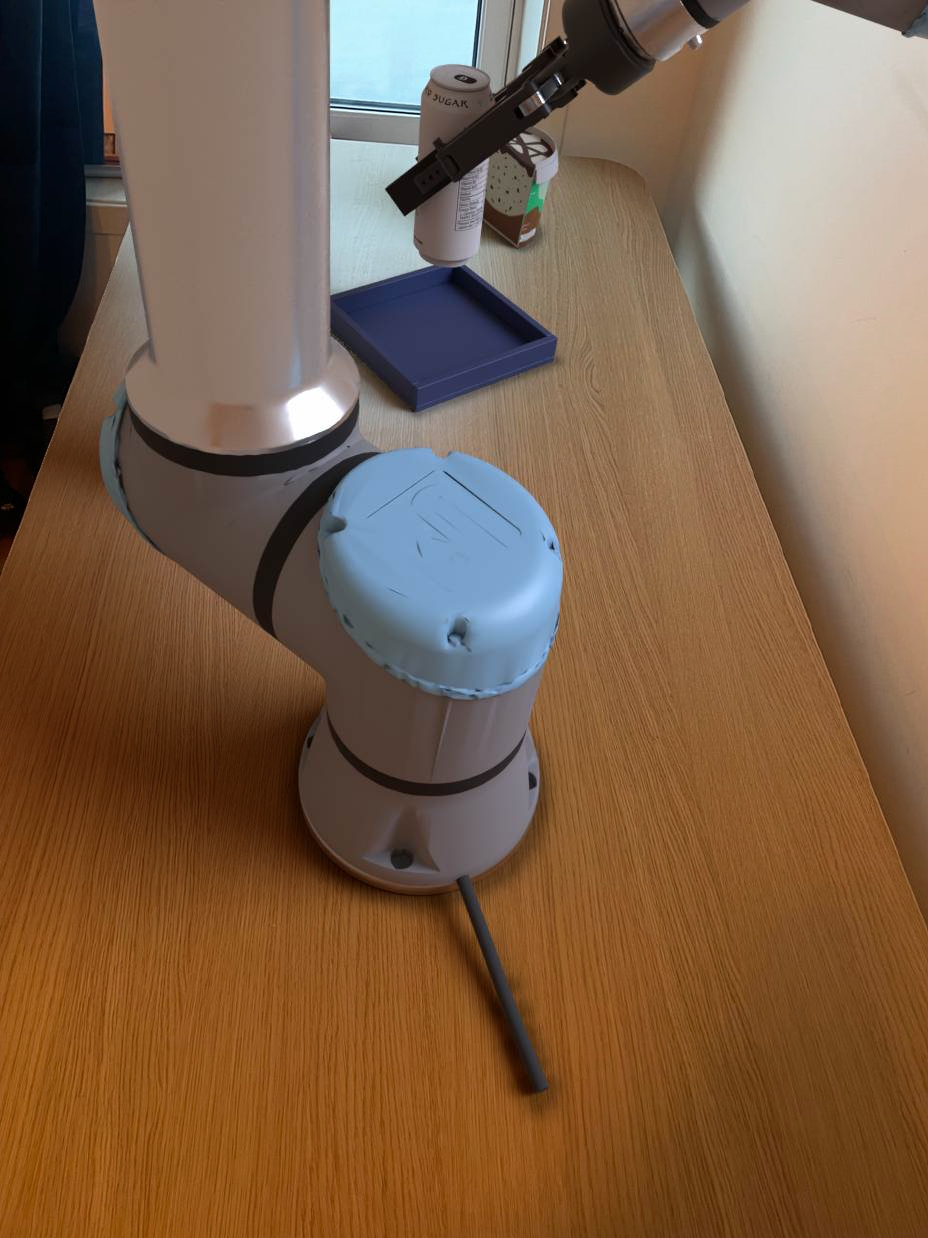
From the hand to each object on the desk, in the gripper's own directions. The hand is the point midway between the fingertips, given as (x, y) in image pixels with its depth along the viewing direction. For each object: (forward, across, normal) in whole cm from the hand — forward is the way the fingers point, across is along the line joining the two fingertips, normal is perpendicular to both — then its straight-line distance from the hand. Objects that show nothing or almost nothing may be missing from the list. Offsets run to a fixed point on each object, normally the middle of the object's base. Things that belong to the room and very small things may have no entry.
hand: (411, 184), depth 82 cm
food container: (+8, +27, -13) cm, 31 cm away
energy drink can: (+1, 0, -6) cm, 7 cm away
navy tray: (+8, 0, -13) cm, 15 cm away
